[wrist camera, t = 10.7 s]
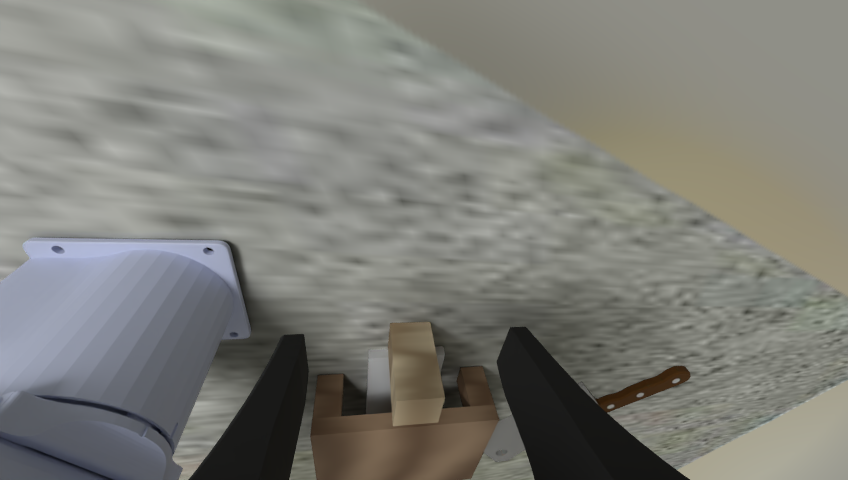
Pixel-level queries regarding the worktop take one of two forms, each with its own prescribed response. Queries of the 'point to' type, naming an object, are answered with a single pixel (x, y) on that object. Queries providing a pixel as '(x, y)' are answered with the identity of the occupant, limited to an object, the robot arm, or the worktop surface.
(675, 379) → the kitchen knife
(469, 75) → the worktop surface
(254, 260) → the worktop surface
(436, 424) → the low shelf
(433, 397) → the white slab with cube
